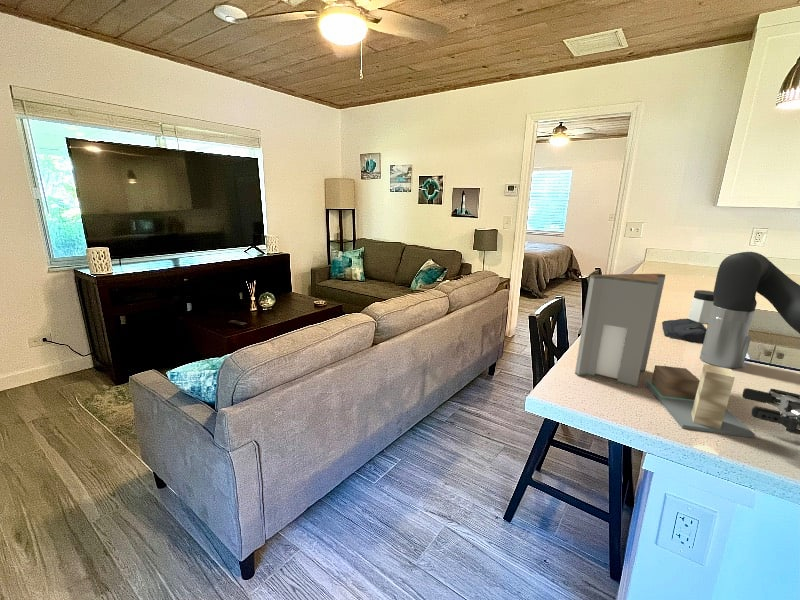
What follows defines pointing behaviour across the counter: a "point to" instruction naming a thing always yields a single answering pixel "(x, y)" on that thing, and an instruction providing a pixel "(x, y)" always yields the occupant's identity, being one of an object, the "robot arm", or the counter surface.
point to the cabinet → (618, 326)
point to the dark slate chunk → (684, 330)
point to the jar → (701, 306)
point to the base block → (675, 382)
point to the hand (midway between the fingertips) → (747, 401)
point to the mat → (683, 416)
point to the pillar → (712, 396)
